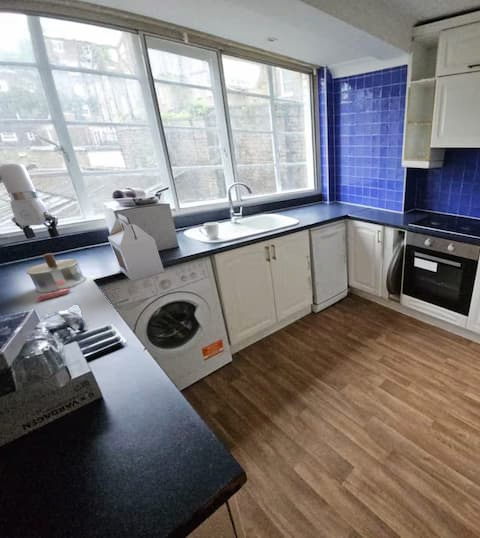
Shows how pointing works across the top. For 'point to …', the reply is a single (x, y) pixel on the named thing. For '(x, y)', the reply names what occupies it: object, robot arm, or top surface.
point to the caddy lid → (51, 265)
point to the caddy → (58, 279)
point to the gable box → (134, 250)
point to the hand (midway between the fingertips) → (43, 237)
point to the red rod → (53, 294)
